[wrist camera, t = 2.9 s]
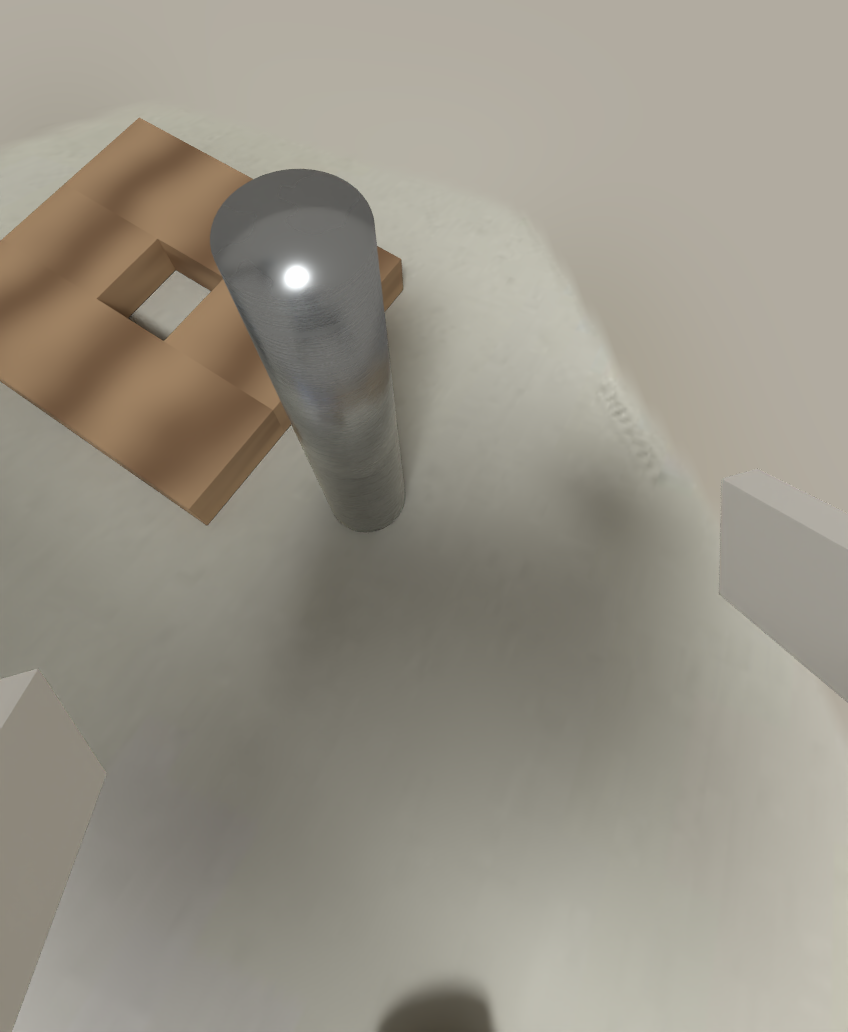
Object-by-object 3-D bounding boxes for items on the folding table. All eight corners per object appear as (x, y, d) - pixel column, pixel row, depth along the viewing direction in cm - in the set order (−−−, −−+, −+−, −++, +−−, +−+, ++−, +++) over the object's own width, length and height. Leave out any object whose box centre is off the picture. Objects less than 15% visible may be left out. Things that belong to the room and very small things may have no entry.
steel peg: (314, 505, 31) (175, 249, 14) (359, 448, 32) (279, 146, 15) (376, 546, 30) (307, 327, 13) (419, 486, 32) (407, 212, 15)
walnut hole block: (-52, 345, 35) (-87, 317, 32) (156, 153, 40) (139, 117, 37) (207, 525, 31) (188, 509, 29) (403, 289, 36) (401, 259, 33)
